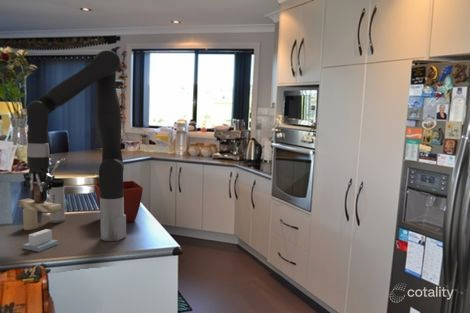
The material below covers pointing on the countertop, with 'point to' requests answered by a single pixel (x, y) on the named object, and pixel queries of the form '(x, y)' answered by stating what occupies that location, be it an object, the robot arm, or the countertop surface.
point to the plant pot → (127, 198)
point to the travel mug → (57, 200)
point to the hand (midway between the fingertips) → (39, 200)
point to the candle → (29, 219)
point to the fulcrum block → (40, 241)
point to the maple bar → (39, 203)
